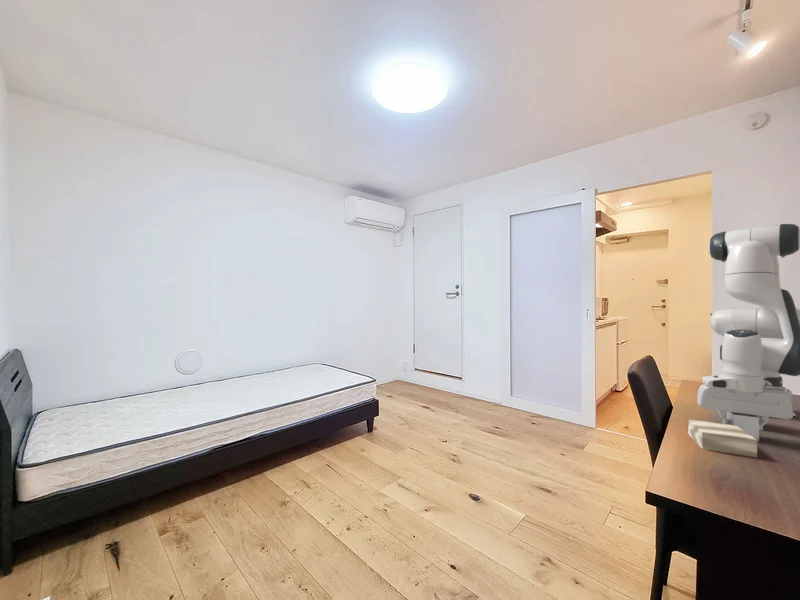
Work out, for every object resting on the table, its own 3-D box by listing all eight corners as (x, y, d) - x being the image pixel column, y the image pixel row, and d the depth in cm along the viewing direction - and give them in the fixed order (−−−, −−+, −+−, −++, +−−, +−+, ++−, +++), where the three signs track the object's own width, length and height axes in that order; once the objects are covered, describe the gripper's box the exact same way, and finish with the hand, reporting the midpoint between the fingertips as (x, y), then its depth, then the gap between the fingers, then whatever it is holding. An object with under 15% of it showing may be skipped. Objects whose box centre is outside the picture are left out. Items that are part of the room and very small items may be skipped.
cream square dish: (688, 435, 99) (688, 419, 99) (736, 442, 94) (736, 425, 94) (702, 449, 89) (702, 432, 89) (757, 458, 84) (757, 440, 84)
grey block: (726, 431, 101) (726, 409, 101) (751, 434, 98) (751, 412, 98) (733, 437, 96) (733, 414, 97) (759, 441, 94) (759, 417, 94)
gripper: (786, 385, 95) (786, 431, 95) (695, 376, 105) (695, 418, 105) (798, 390, 89) (798, 439, 89) (701, 380, 100) (701, 424, 100)
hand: (742, 427), depth 97 cm, fingers closed on grey block, 5 cm apart
